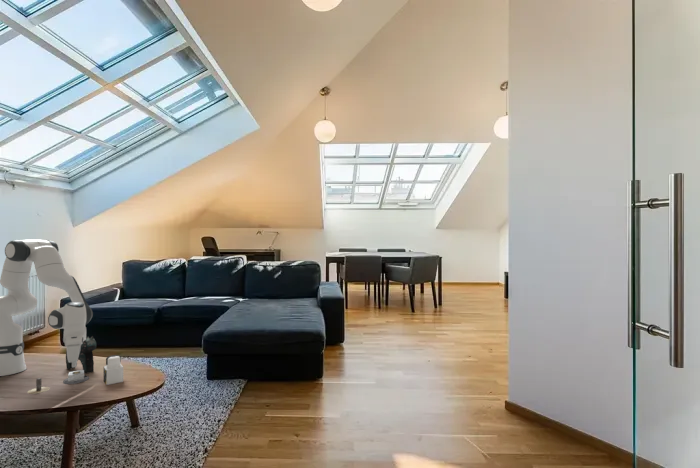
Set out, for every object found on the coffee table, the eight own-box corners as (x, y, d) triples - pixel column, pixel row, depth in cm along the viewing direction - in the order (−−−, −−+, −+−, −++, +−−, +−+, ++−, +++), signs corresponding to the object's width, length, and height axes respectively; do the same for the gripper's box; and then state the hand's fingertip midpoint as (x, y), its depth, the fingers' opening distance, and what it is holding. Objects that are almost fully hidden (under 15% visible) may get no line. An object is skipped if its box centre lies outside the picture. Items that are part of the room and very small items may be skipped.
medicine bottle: (103, 381, 190) (103, 355, 190) (120, 377, 194) (120, 353, 194) (106, 385, 184) (106, 359, 184) (123, 381, 189) (123, 356, 189)
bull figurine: (97, 371, 204) (97, 332, 204) (84, 375, 198) (84, 334, 198) (74, 366, 212) (74, 328, 213) (61, 369, 207) (61, 331, 207)
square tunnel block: (68, 382, 184) (68, 375, 184) (69, 378, 190) (69, 371, 190) (83, 379, 188) (83, 373, 188) (84, 375, 193) (84, 369, 193)
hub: (57, 385, 184) (57, 377, 184) (74, 378, 194) (74, 369, 194) (78, 386, 183) (78, 377, 183) (93, 378, 193) (93, 370, 193)
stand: (22, 395, 172) (22, 381, 172) (38, 388, 180) (38, 375, 180) (39, 396, 172) (39, 382, 172) (54, 389, 180) (54, 375, 180)
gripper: (68, 333, 195) (68, 361, 195) (64, 343, 178) (63, 374, 178) (84, 331, 199) (83, 359, 199) (81, 341, 181) (80, 371, 181)
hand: (74, 366), depth 188 cm, fingers closed
